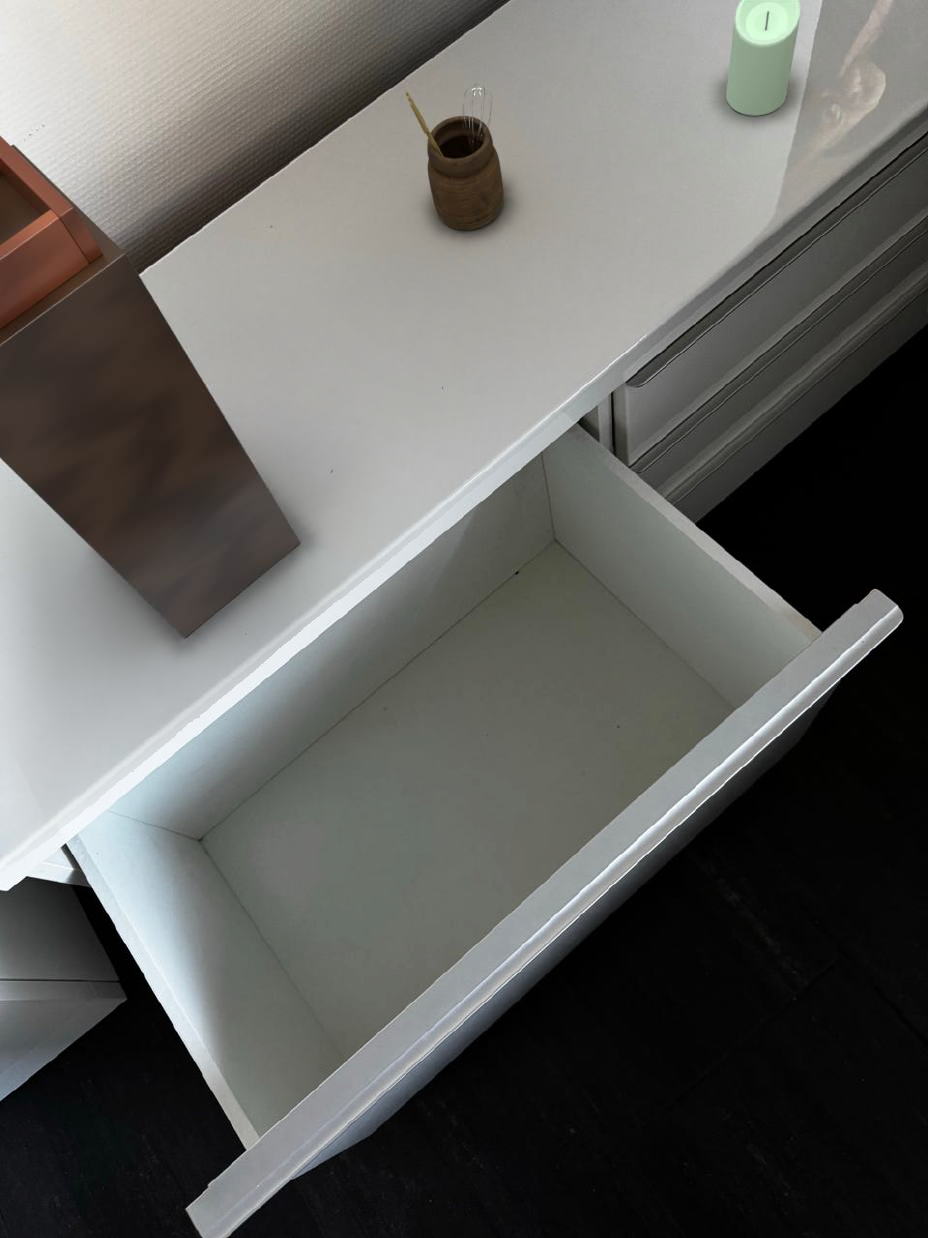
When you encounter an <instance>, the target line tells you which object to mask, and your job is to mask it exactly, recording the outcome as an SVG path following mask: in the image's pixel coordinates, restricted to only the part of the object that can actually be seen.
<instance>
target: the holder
mask: <svg viewBox="0 0 928 1238" xmlns="http://www.w3.org/2000/svg"><path fill="white" fill-rule="evenodd" d="M0 459H1V461H2V462H4V464H6V465H7V466H8V467H9V468H10V469H11V471H12V472H13V473H15V474H16V475H17V476H18V477H19V478H20V479H21V481H23V482H24V483H25V484H26V485H27V487H29V488H30V489H31V490H32V491H33V492H34V493H35V494H36V495H37V496H38V497H39V498H40V499H41V500H42V501H43V502H44V503H45V504H46V505H47V506H48V507H49V508H50V509H52V511H53V512H54V513H55V514H57V516H58V517H59V518H60V519H61V520H63V521H64V522H65V524H67V525H68V526H69V527H70V529H72V530H73V532H75V534H77V535H78V537H80V538H81V539H82V540H83V541H84V542H85V543H86V544H87V545H88V546H89V548H90V549H92V550H93V551H94V552H95V553H96V554H97V555H98V556H99V557H100V558H102V560H103V561H104V562H105V563H106V564H107V565H108V566H110V568H111V569H113V570H114V571H115V572H116V574H117V575H119V577H121V579H123V580H124V582H126V583H127V584H128V585H129V586H130V587H131V588H132V590H134V591H135V592H136V593H137V594H138V595H139V597H141V598H142V599H143V600H144V601H145V602H146V603H147V604H148V605H149V606H150V607H151V608H152V609H153V610H155V612H156V613H157V614H158V615H159V616H160V617H161V618H162V619H163V620H165V621H166V623H168V624H169V626H171V628H173V629H174V630H175V631H176V632H177V633H178V635H180V636H181V637H182V638H183V639H186V638H187V637H188V636H190V635H191V634H192V633H193V632H194V631H196V630H197V629H198V628H200V626H201V625H203V624H205V622H207V621H208V620H209V619H210V618H211V617H213V615H215V614H216V613H218V612H219V611H220V610H221V609H222V608H223V607H224V606H226V605H227V604H228V603H229V602H230V601H232V600H233V599H234V598H236V597H237V596H238V595H239V594H241V593H242V592H243V591H244V590H246V589H247V588H248V587H249V586H250V585H251V584H252V583H254V582H255V581H256V580H257V579H258V578H260V577H261V576H262V575H263V574H264V573H266V572H267V571H268V570H269V569H271V568H272V567H274V566H275V564H277V563H278V562H279V561H280V560H282V559H283V558H284V557H285V556H286V555H287V554H289V553H290V552H292V550H294V549H295V548H296V547H298V546H299V545H300V544H301V542H302V541H301V540H300V539H299V537H298V535H297V533H296V531H295V530H294V528H293V526H292V525H291V524H290V521H289V520H288V518H287V517H286V515H285V513H284V512H283V510H282V508H281V506H279V504H278V502H277V500H276V498H275V497H274V495H273V493H272V492H271V490H270V488H269V487H268V485H267V483H266V482H265V481H264V479H263V477H262V475H261V474H260V472H259V471H258V469H257V467H256V466H255V464H254V462H253V460H252V459H251V457H250V456H249V454H248V452H247V450H246V449H245V448H244V446H243V444H242V442H241V441H240V438H238V436H237V434H236V433H235V431H234V429H233V427H232V426H231V425H230V422H229V421H228V419H227V417H226V415H224V413H223V411H222V409H221V408H220V406H219V405H218V403H217V401H216V400H215V398H214V396H213V395H212V393H211V392H210V390H209V388H208V386H207V385H206V383H205V382H204V380H203V378H202V377H201V375H200V373H199V372H198V369H196V367H195V364H193V362H192V360H191V358H190V357H189V356H188V354H187V352H186V351H185V349H184V347H183V345H182V344H181V342H180V340H179V339H178V337H177V335H176V333H175V332H174V330H173V329H172V327H171V325H170V324H169V323H168V321H167V319H166V317H165V316H164V314H163V313H162V310H161V309H160V307H159V306H158V304H157V302H156V301H155V299H154V297H153V296H152V294H151V292H150V291H149V289H148V288H147V286H146V284H145V283H144V281H143V279H142V278H141V276H140V274H139V273H138V271H137V269H136V267H135V266H134V264H133V263H132V261H131V259H130V258H129V256H128V255H127V253H126V252H125V251H124V250H123V249H122V248H121V247H120V246H119V245H118V244H117V243H116V242H115V241H114V240H113V239H112V238H111V237H110V236H108V234H106V233H105V231H103V229H102V228H100V227H99V226H98V224H97V223H95V222H94V221H93V220H92V219H91V218H90V217H89V216H88V214H86V213H85V212H84V211H83V210H82V209H81V208H79V206H78V205H77V204H76V203H75V202H73V200H71V198H70V197H69V196H68V195H67V194H65V193H64V192H63V190H61V189H60V187H58V185H56V184H55V183H54V182H53V181H52V180H51V179H50V178H49V177H48V176H47V175H46V174H45V173H44V172H43V171H42V170H41V169H40V168H39V167H38V166H37V165H36V164H35V163H34V162H33V161H32V160H31V159H30V158H28V157H27V155H26V154H24V153H23V151H21V150H20V149H19V148H18V146H16V145H15V144H11V145H10V144H9V143H8V141H7V140H5V138H4V137H2V135H0Z"/></svg>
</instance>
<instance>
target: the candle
mask: <svg viewBox="0 0 928 1238" xmlns="http://www.w3.org/2000/svg"><path fill="white" fill-rule="evenodd" d="M801 10H802V8H801V3H800V0H740V2H739V3H738V4H737V7H736V10H735V13H734V23H733V29H732V39H731V46H730V47H731V48H730V56H729V65H728V72H727V73H728V74H727V76H728V77H727V82H726V83H727V84H726V91H725V98H726V102H727V103H728V105H729V107H731V108H732V109H733V110H734V111H735V112H738V113H739V114H742V115H746V116H754V117H755V116H758V117H759V116H762V115H763V116H764V115H768V114H769V113H773V112H775V111H776V110H778V109H779V108H780V107H781V106H782V105H783V104H784V102H785V100H786V98H787V94H788V88H789V82H790V77H791V73H792V72H791V71H792V65H793V60H794V55H795V54H794V53H795V48H796V42H797V38H798V37H797V36H798V31H799V25H800V20H801V12H802V11H801Z"/></svg>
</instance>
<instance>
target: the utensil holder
mask: <svg viewBox="0 0 928 1238" xmlns="http://www.w3.org/2000/svg"><path fill="white" fill-rule="evenodd" d="M470 88H472V89H470ZM469 89H470V90H469ZM467 90H469V91H468V92H467ZM486 90H487V91H488V92H489V94H490V97H491V98H490V97H489V94H488V93H487V92H486ZM474 91H475V92H474ZM477 91H478V92H479V96H480V103H481V107H480V108H481V109H480V110H481V111H480V119H479V118H478V117H474V115H473V112H474V111H473V109H474V106H473V105H474V97H475V95H476V93H477ZM481 91H482V92H483V99H482V94H481ZM471 92H472V94H473V95H472V97H471V98H472V99H471V102H470V107H469V113H471V115H465V100H466V97H467V96H468V94H469V93H471ZM404 93H405V96H406V99H407V101H408V103H409V105H410V108H411V110H412V112H413V113H414V116H415V118H416V120H417V121H418V124H419V125H420V127H421V129H422V131H423V133H424V134H425V135H426V137H427V143H426V146H427V148H426V150H427V151H426V152H427V156H428V159H427V177H428V183H429V187H430V193H431V197H432V201H433V206H434V208H435V211H436V213H437V216H438V217H439V219H440V220H441V221H442V222H443V223H444V224H445V225H447V226H449V227H451V228H453V229H457V230H464V231H469V230H475V229H480V228H482V227H484V226H486V225H488V224H490V223H491V222H492V221H493V220H495V219H496V218H497V217H498V215H499V213H500V212H501V211H502V208H503V204H504V184H503V177H502V176H503V175H502V170H501V163H500V158H499V153H498V152H497V149H496V147H495V146H494V140H493V137H492V133H491V131H490V129H489V126H490V122H491V117H492V109H493V108H492V106H493V96H492V93H491V91H490V89H488V88H486V87H485V86H484V85H483V84H480V85H478V84H476V83H475V84H474V85H472V86H469V87H467V88H466V90H465V91H464V95H463V102H462V109H461V115H457V116H452V117H449V118H446V119H445V120H442V121H441V122H439V123H438V124H436V125H435V126H434V127H433V129H432V130H429V128H428V126H427V123H426V121H425V119H424V117H423V116H422V114H421V112H420V110H419V109H418V107H417V105H416V103H415V102H414V100H413V99H412V97H411V95H410V93H409V92H408V91H407V90H405V91H404ZM485 96H487V99H488V102H489V118H488V121H487V123H485V122H484V121H483V117H484V116H483V115H484V112H483V111H484V110H485V104H483V100H485V99H486V98H485Z"/></svg>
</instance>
